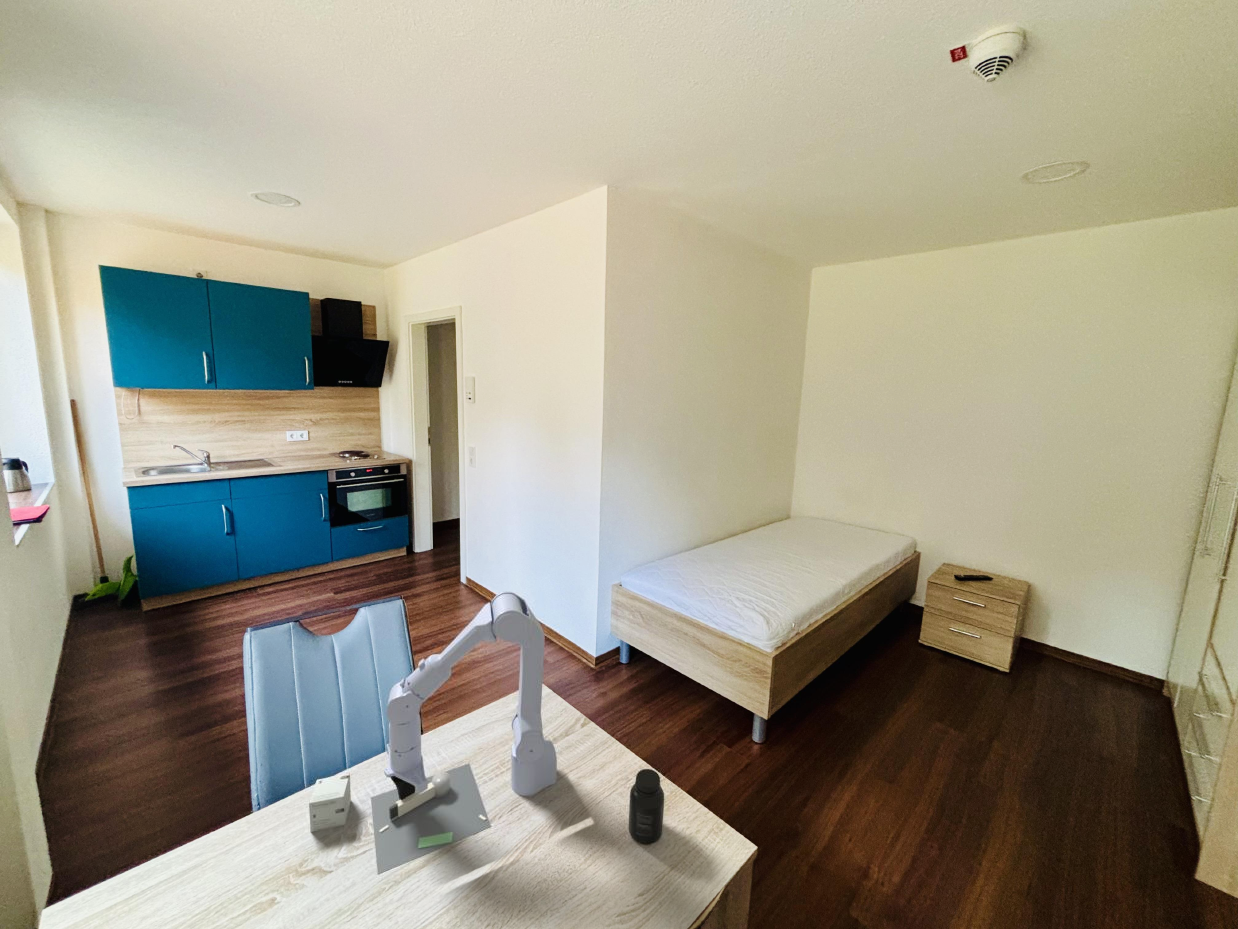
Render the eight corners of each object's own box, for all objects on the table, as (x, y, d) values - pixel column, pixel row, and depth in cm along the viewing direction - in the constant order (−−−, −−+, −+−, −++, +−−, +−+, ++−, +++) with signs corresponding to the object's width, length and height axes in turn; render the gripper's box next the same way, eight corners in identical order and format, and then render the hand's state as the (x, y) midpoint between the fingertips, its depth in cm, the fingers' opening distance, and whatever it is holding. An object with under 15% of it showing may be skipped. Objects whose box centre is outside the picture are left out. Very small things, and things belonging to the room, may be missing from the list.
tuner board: (469, 767, 111) (469, 762, 111) (491, 831, 96) (491, 825, 96) (371, 801, 101) (370, 796, 101) (377, 879, 86) (377, 873, 86)
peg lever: (445, 781, 106) (445, 769, 105) (453, 791, 103) (452, 779, 103) (386, 814, 97) (386, 801, 97) (393, 827, 95) (393, 813, 94)
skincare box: (310, 837, 93) (307, 803, 92) (318, 810, 99) (316, 778, 98) (346, 829, 95) (344, 796, 94) (352, 803, 101) (350, 772, 99)
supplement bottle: (669, 831, 98) (672, 778, 96) (647, 854, 93) (650, 799, 91) (643, 809, 102) (646, 759, 100) (620, 830, 97) (623, 777, 95)
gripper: (370, 732, 99) (372, 791, 101) (400, 774, 89) (402, 837, 91) (405, 716, 104) (406, 772, 106) (437, 754, 94) (438, 814, 96)
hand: (407, 801), depth 99 cm, fingers closed, pressing on peg lever
